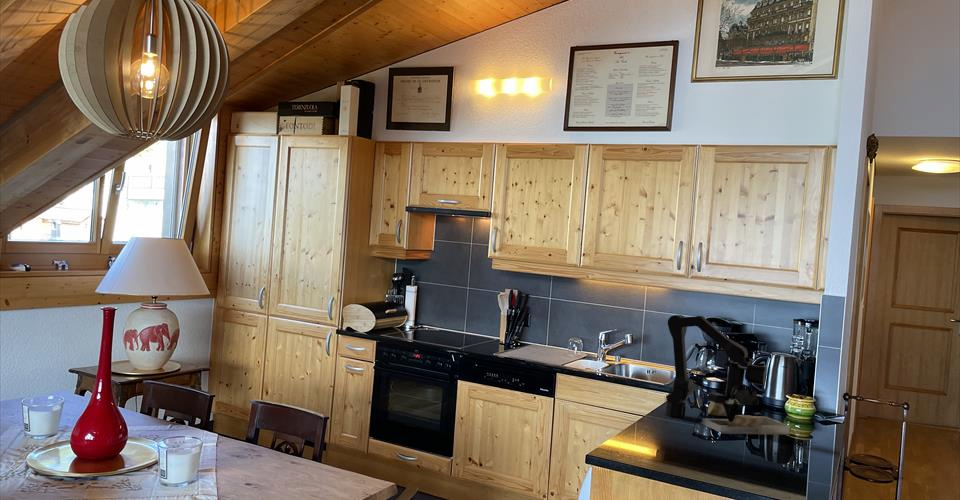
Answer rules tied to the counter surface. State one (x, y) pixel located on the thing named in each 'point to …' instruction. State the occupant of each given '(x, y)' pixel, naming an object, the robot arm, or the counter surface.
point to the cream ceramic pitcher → (716, 409)
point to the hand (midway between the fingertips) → (730, 421)
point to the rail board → (749, 427)
